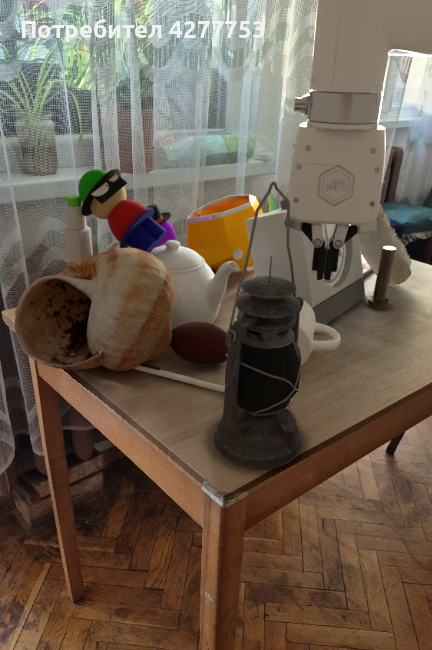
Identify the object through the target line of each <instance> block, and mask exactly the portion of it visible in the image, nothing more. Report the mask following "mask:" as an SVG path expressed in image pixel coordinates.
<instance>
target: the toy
mask: <svg viewBox="0 0 432 650" xmlns="http://www.w3.org/2000/svg"><path fill="white" fill-rule="evenodd" d="M127 184H128V182H127V181H126V180H125V179H123V177H122V171H121V170H120V169H119V168H112V169H110V170H108V171H105V170H103V169H91V170H88V171H86V172H84V174H83V175H82V176H81V178H80V179H79V182H78V184H77V185H78V186H77V189H78V190H77V191H78V196H80V198H81V204H82V208H81V213H82V215H84V216H86V217H89V216H92V215H93V216H95V217H96V218H98V219H100V220H107V224H108V227H109V230H110V231H111V233H112V235H113V236H114V238H115V240H116V239H117V240H118V241H119V242H120V244H119V248H128V247H129V246H130V247H131V248H136V249H139V250H143V251H146V252H148V253H150V252H151V251H152V250H153V249H154V247H155V246H156V245H158V244H159V243H160V242H161V241H162V239H163V238H164V237H165V235H166V233H167V231H166V230H165V229H164V228H163V227H161V226H160V225H159V224H158V223H157V222H156V221H155V220H153V219H152V217H153V215H154V209H153V208H147V206H146V205H144V204H143V203H141V202H139V201H136V200H132V199H127V190H126V187H125V186H126V185H127Z"/></svg>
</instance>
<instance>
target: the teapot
mask: <svg viewBox="0 0 432 650" xmlns="http://www.w3.org/2000/svg"><path fill="white" fill-rule="evenodd" d="M118 245H120V242H119V241H118V240H117V239H116V238H115V240H113V241H111V242H110V243H109V244H108V245H107V247H106V250H105V251H108V250H114V249H116V248H117V246H118ZM127 248H131V247H130V246H129V247H127ZM150 254H153V255H154V256H155V257H156V258H158V259H159V260H160V261H161V262H162V263H163V264H164V265H165V267H166V268H167V269H168V271H169V272H170V274H171V276H172V280H173V283H174V290H175V303H174V308H173V312H172V315H171V319H172V330H173V329H175V328H176V327H178V326H179V325H182V324H185V323H189V322H206V323H209V324H213V325H214V322H216V319H217V318H218V316H219V312H220V310H221V309H220V308H221V304H222V302H223V299H224V297H225V294H226V290H227V286H228V282H229V278H230V276H231V274H233V273H239V272H241V271H240V268H239V266H238V264H237V263H236V262H234V261H228V262H225V263H224V264H222V265H221V267H220V268H219V269H218V270H216V272H215V273H214V272H213V270H212V268H210V267H209V266H208V265H207V264H206V263H205V260H204V258H203V257H202V256H200V255H199V254H197V253H196V252H195V251H193V250H192V249H189V248H188V247H187V246H183V245H181V243H180V241H178V240H177V241H175V240H169V241H166V243H165V246H160V247H156V248H154V249H153V250H152V251H151V252H150Z"/></svg>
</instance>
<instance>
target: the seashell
mask: <svg viewBox="0 0 432 650" xmlns="http://www.w3.org/2000/svg"><path fill="white" fill-rule="evenodd" d="M64 264H65V265H66V268H61V269H60V271H58V273H56V274H52V275H46V276H41V277H39V278H36V280H33V282H32V283H30V284H29V285H28V287H26V289H25V290H24V291H23V293H22V294H21V296H20V298H19V299H18V303H17V306H16V308H15V311H14V315H15V317H14V332H15V336H16V339H17V342H18V344H19V346H20V349H21V351H22V352H23V353H24V354H25V355H27V356H28V357H29V358H31V359H32V360H34V361H36V362H38V363H41V364H43V365H46V366H48V367H51V368H55V369H60V370H68V371H69V370H71V371H72V370H88V369H94V368H98V367H101V366H102V368H103V369H104V368H106V369H109V370H112V371H118V372H125V371H130V370H132V369H133V368H135V367H137V366H139V365H140V364H144V363H145V362H147V361H149V362H150V361H153V360H156V358H158V357H159V356H160V355H161V354H163V353H164V352H166V351H168V350H169V348H170V344H171V340H172V334H171V332H172V319H171V315H172V312H173V308H174V303H175V290H174V283H173V280H172V276H171V274H170V272H169V271H168V269H167V268H166V267H165V265H164V264H163V263H162V262H161V261H160V260H159V259H158V258H156V257H155V256H154V255H153V254H150V253H148V252H146V251H143V250H139V249H136V248H128V247H127V248H120V247H118V248H114V250H108V251H106V250H104V251H102V252H99V253H96V254H93V256H91V257H88V258H86V259H84V260H82V261H80V262H78V263H77V264H76V263H72V262H67V261H66V262H65V263H64Z"/></svg>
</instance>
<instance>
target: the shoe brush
mask: <svg viewBox="0 0 432 650" xmlns="http://www.w3.org/2000/svg"><path fill="white" fill-rule="evenodd" d="M376 221H377V228H376V230H375V231H372V232H367V233H361V234H360V233H359V239H360V249H361V256H363V257H364V259H365V260H366V262H367V264H368V265H369V266H370V268H371V269H372V271H373V273H374V274H375V276H377V273H378V268H379V263H380V258H381V253H382V248H383V247H384V246H391V247H394V248H396V253H395V257H394V262H393V267H392V272H391V276H390V281H389V286H395V285H401V284H403V283H405V282H406V281H407V280H408V279H409V278H410V277H411V275H412V269H411V265H412V260H411V258H410V254H408V251H407V248H406V247H405V244H404V242H402V239H401V238H400V236H397V235H398V233H397V232H396V231H395V230H396V228H393V227H392V226H391V225H392V223H390V219H389V217H388V215H387V212H385V211H384V207H383V204H380V206H379V211H378V215H377V218H376Z"/></svg>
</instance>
